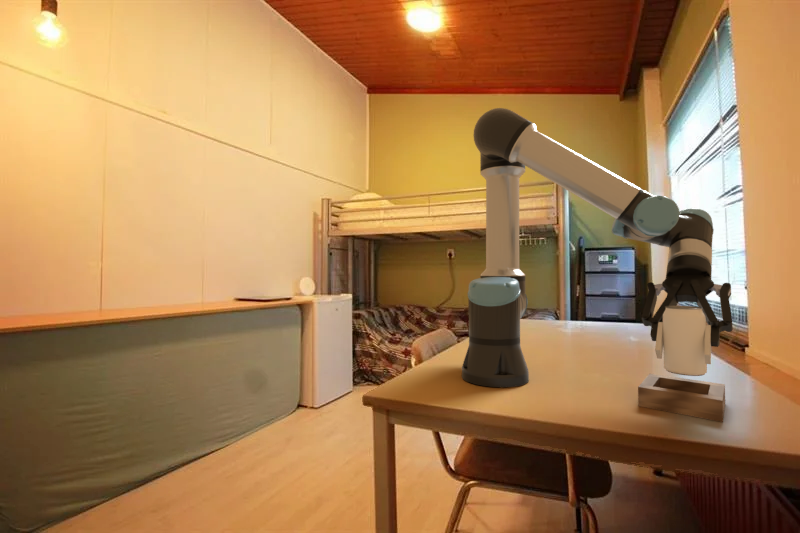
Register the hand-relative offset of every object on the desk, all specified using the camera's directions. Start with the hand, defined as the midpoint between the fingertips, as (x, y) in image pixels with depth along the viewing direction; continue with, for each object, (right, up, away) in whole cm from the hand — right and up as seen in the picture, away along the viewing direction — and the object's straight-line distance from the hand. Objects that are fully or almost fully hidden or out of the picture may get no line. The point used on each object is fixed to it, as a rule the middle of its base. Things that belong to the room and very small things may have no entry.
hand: (682, 356), depth 70 cm
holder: (+2, -10, +3) cm, 10 cm away
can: (+2, -4, +3) cm, 5 cm away
